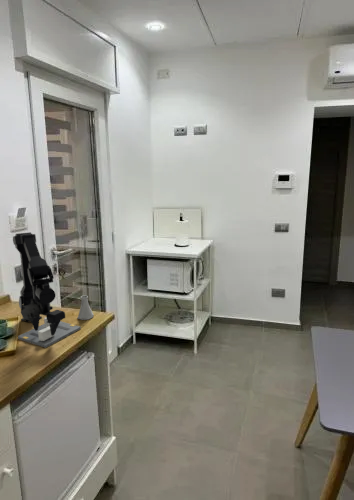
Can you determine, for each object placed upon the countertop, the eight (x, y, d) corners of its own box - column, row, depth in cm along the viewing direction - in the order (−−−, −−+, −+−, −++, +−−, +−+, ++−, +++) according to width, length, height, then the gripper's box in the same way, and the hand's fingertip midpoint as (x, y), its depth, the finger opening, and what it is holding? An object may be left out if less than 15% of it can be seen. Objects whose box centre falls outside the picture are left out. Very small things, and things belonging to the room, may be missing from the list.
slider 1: (44, 326, 153) (44, 318, 153) (55, 321, 159) (54, 313, 158) (48, 327, 152) (48, 319, 152) (59, 322, 157) (58, 314, 157)
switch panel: (17, 338, 145) (17, 336, 145) (53, 321, 161) (53, 319, 161) (45, 347, 138) (45, 345, 137) (80, 328, 154) (80, 326, 154)
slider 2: (38, 339, 141) (38, 331, 140) (50, 333, 146) (50, 325, 145) (43, 341, 140) (42, 332, 139) (55, 335, 145) (54, 326, 144)
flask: (89, 321, 162) (88, 299, 160) (74, 319, 164) (73, 298, 161) (96, 314, 169) (95, 294, 167) (81, 313, 170) (80, 293, 168)
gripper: (7, 297, 137) (11, 335, 141) (41, 306, 129) (45, 346, 132) (31, 289, 147) (34, 325, 150) (64, 297, 138) (67, 334, 142)
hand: (44, 332), depth 143 cm, fingers open, 9 cm apart
